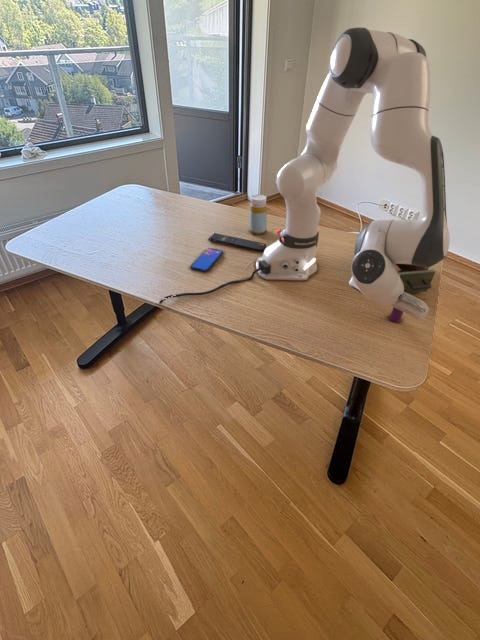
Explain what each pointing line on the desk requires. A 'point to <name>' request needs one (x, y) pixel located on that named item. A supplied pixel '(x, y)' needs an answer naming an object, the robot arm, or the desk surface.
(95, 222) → the desk surface
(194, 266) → the smartphone
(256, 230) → the bottle
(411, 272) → the drawer
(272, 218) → the desk surface
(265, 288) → the desk surface
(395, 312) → the glue stick
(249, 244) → the remote control
